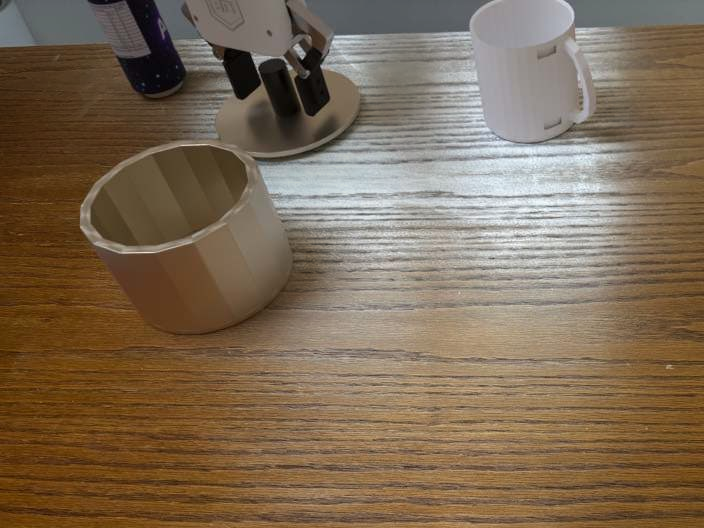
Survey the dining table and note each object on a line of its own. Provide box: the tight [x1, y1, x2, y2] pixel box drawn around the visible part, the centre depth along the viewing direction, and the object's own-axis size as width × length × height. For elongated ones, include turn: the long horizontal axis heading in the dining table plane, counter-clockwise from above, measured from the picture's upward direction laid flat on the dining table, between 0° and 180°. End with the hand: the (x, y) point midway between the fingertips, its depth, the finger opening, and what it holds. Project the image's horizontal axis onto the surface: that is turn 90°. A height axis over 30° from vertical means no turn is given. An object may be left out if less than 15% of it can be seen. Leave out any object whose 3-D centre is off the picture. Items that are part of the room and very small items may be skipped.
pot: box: [79, 138, 294, 336], centre depth 66 cm, size 13×13×8 cm
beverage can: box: [86, 0, 187, 99], centre depth 84 cm, size 6×6×12 cm
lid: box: [214, 57, 362, 158], centre depth 80 cm, size 14×14×6 cm
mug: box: [468, 0, 597, 144], centre depth 75 cm, size 12×9×9 cm
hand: (283, 99), depth 81 cm, fingers open, 7 cm apart
